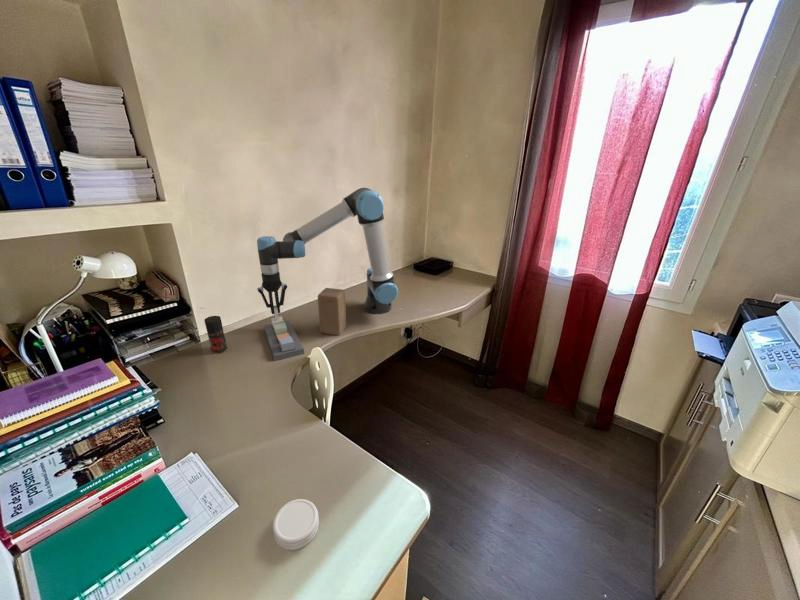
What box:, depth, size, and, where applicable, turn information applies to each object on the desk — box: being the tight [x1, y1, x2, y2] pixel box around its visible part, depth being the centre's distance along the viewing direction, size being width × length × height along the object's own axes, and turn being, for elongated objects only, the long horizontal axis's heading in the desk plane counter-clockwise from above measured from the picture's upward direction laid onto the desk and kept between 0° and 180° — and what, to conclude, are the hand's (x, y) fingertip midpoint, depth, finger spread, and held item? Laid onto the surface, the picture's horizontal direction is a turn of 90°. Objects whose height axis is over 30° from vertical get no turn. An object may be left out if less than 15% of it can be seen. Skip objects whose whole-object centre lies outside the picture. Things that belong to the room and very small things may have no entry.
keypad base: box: [263, 319, 305, 361], centre depth 152 cm, size 12×29×2 cm, turn 28°
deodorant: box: [204, 315, 228, 354], centre depth 142 cm, size 6×6×15 cm
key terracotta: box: [276, 333, 290, 344], centre depth 149 cm, size 5×5×4 cm
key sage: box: [273, 322, 287, 337], centre depth 154 cm, size 5×5×4 cm
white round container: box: [272, 498, 320, 551], centre depth 78 cm, size 10×10×4 cm
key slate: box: [279, 336, 294, 352], centre depth 142 cm, size 5×5×4 cm
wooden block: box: [317, 287, 347, 336], centre depth 159 cm, size 10×10×20 cm
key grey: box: [270, 316, 285, 330], centre depth 159 cm, size 5×5×4 cm
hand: (276, 319), depth 158 cm, fingers closed
